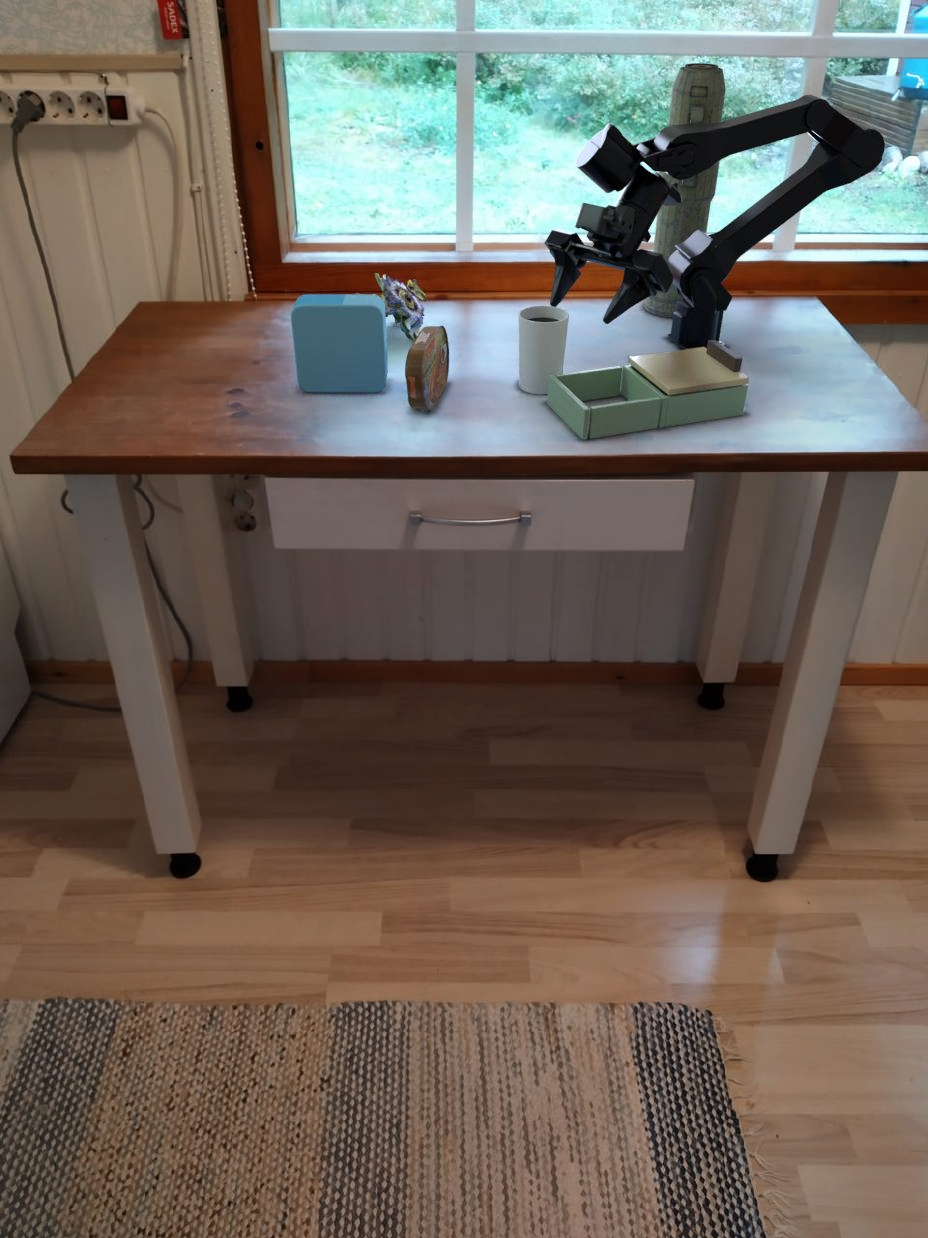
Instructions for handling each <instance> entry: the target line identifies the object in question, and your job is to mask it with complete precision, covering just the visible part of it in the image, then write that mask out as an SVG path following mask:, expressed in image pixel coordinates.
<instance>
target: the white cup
mask: <svg viewBox="0 0 928 1238" xmlns="http://www.w3.org/2000/svg"><path fill="white" fill-rule="evenodd" d="M517 316H518V379H519V380H518V385H519V389H520V390H522V391H524V392H525V393H528V394H532V395H548V379H549V375H554V376H555V377H556V375H557V374H564V364H565V355H566V354H565V353H566V346H567V337H568V328H569V327H568V326H569V320H570V319H569V318H570V314H569V312H568V311H567V310H565V309H563V308H561V307H557V306H556V307H553V306H551V305H533V306H528V307H525V308H522V309H521V310H519V312H518V315H517Z"/></svg>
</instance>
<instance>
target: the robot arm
mask: <svg viewBox="0 0 928 1238" xmlns="http://www.w3.org/2000/svg"><path fill="white" fill-rule="evenodd" d="M803 134H808V135H809V136H810V137H811V138H812V139H813V140H814V141H816V142H817V144H815V147H813V150H812V152H811V153H810V155H809V156H808V158H807V160H806V162H805V163H804V164H803V165H802V166H801V167H800V168H798V170H796V171H794V172H793V173H792V174H791V175H790V176H788V177H786V179H784V180H783V181H782V182H780V183H779V184H778V185H776V187H774V188H773V189H771V190H770V191H769V192H768V193H766V194H765V195H763V196H762V197H761V198H760V199H758V200H757V201H756V202H755V203H754V204H752V205H751V206H750V207H749V208H747V209H746V210H745V211H743V212H742V213H741V214H740V215H738V216H737V217H735V218H734V219H733V220H732V221H730V222H729V223H727V224H726V225H725V226H724V227H723V228H722V229H720V230H718V231H716V232H714V233H710V234H707V233H706V234H705V233H704V232H703V231H701V230H700V229H698V230H697V231H695V232H694V233H693V234H692V235H691V236H690V237H689V238H688V239H687V240H686V241H684V242H683V243H681V244H678V245H676V246H675V248H676V249H678V250H676V251H675V252H674V253H673V254H672V255H671V256H670V258H669V259H668V263H667V262H666V260H665V258H664V256H663V255H662V254H660V253H656V252H653V250H648V249H644V248H640V246H641V245H642V243H649V242H650V240H651V238H652V235H651V233H650V231H649V230H650V228H651V226H652V225H653V223H654V221H655V219H657V214H658V212H659V210H660V209H661V207H662V205H664V206H669V205H674V204H678V203H681V201H682V198H681V194H680V192H679V189H678V183H672V184H670V183H669V182H667V181H666V180H665V179H664V178H663V177H662V176H661V175H660V174H659V172H666V173H667V174H669V175H670V176H672V177H673V178H675V179H678V180H685V179H689V178H691V177H693V176H695V175H697V174H700V173H702V172H704V171H706V170H708V169H710V168H711V167H713V166H714V165H715V164H716V163H718V162H719V161H720V162H721V160H723V159H725V158H727V157H729V156H732V155H735V154H738V153H742V152H745V151H749V150H752V149H753V150H754V149H756V148H759V147H763V146H767V145H769V144H772V143H773V144H774V143H776V142H780V141H783V140H787V139H789V138H793V137H796V136H800V135H803ZM885 143H886V142H885V138H884V136H883V135H882V134H881V132H880V131H878V130H877V129H875V128H872V127H870V126H867V125H864V124H862V123H859V122H857V121H853V120H851V119H850V118H848V117H846V116H845V115H844V114H842V113H841V112H840V111H838V110H837V109H836V108H835V107H833V106H832V105H831V104H830V103H829V101H828V100H826V99H825V98H824V99H823V98H821V97H819V96H816V95H814V94H805V95H802V96H800V97H799V98H798V99H794V100H791V101H787V102H784V103H780V104H778V105H777V104H776V105H774V106H770V107H767V108H763V109H760V110H756V111H754V112H753V111H752V112H749V113H747V114H744V115H740V116H737V117H733V118H730V119H726V120H723V121H721V122H719V123H691V124H681V125H672V126H669V125H667V126H665V127H664V128H662V129H661V130H660V131H658V133H657V135H656V137H652V138H649V139H646V140H643V141H640V142H637V143H634V144H633V143H632V142H630V141H629V140H628V139H627V138H626V137H625V136H624V135H623V134H622V132H621V130H620V129H619V128H618V127H617V126H616V125H614V124H613V123H612V122H608V123H607V124H606V125H605V127H604V128H602V129H601V130H600V131H598V132H596V133H595V134H594V135H593V136H592V137H591V138H590V139H587V140H586V142H585V143H584V144H583V146H582V147H581V149H580V151H579V153H578V155H577V157H576V159H575V167H576V168H577V169H578V170H579V171H581V172H582V174H584V175H585V176H586V177H587V178H589V179H590V180H591V181H592V183H594V184H595V185H597V186H598V187H599V188H600V189H601V190H602V191H603V192H605V194H610V193H612V192H616V193H619V192H621V193H620V195H619V197H618V199H617V200H616V202H615V204H614V205H609V204H608V205H607V206H601V205H598V204H592V203H587V202H582V203H581V206H580V208H579V209H580V210H579V212H578V215H577V218H576V221H575V225H574V227H575V228H576V229H581V230H583V231H586V232H587V234H586V238H587V239H588V241H590V242H592V245H591V246H590V245H588V244H587V245H586V244H585V243H584V242H583V240H582V239H581V237H580V236H579V235H578V233H577V232H576V231H571V230H567V229H563V228H560V227H557V228H553V229H551V230H550V232H549V233H548V235H547V237H546V239H545V241H544V242H543V244H544V245H545V246H546V248H547V249H548V250H549V254H550V255H551V257H553V259H554V264H555V265H554V267H555V268H554V275H553V276H554V277H553V283H552V288H551V293H550V294H551V295H550V301H549V306H553V307H557V306H559V304H560V303H561V302H562V301H563V300H564V298H565V297H566V295H567V294H568V293H569V291H570V290H571V289H572V287H573V286H574V284H575V283H576V282H577V280H579V278H580V277H581V276H582V272H581V271H580V269H582V268H584V267H585V266H586V264H587V262H590V263H593V264H596V265H597V264H598V265H600V266H604V267H609V268H612V269H616V270H620V271H622V272H623V277H622V280H621V281H622V282H621V283H620V286H619V287H618V289H617V290H616V293H615V294H614V296H613V298H612V300H611V301H610V304H609V305H608V307H607V309H606V310H605V313H604V316H603V318H602V321H603V323H604V324H605V325H609V324H610V323H611V322H613V321H615V320H616V319H617V318H619V317H620V316H621V315H622V314H624V313H625V312H627V311H628V310H630V309H632V308H633V307H634V306H637V305H638V304H639V303H641V302H643V301H645V300H646V298H648V297H649V296H653V297H655V296H656V295H657V292H660V293H664V294H665V293H667V292H668V290H669V288H670V286H671V284H672V283H673V284H674V285H675V286H676V290H677V293H678V294H679V295H681V296H682V297H683V299H682V300H679V301H677V308H676V312H674V313H673V317H672V321H671V329H670V333H668V334H667V336H666V337H667V338H666V339H668V340H669V341H671V342H672V343H673V344H675V345H676V346H678V347H679V348H681V350H685V349H692V348H700V347H705V348H706V349H707V344H708V340H716V341H717V342H719V343H720V344H722V345H723V346H725V342H724V341H722V340H721V332H722V324H723V318H724V313H725V312H726V311H727V310H728V308H729V305H730V304H731V302H732V300H733V295H732V294H731V293H730V292H729V291H728V290H727V288H726V287H725V286H724V285H723V284H722V283H723V282H724V281H725V280H726V279H727V278H728V276H729V275H730V274H731V271H732V270H733V268H734V267H735V264H736V263H737V261H738V260H739V259H740V258H741V257H742V256H743V255H745V254H746V253H747V252H749V251H750V250H751V249H752V248H753V247H755V246H756V245H757V244H759V243H760V242H761V241H763V240H764V239H766V238H767V237H768V236H769V235H771V234H772V233H773V232H774V231H776V230H777V229H778V228H780V227H782V225H784V224H785V223H786V222H788V221H789V220H790V219H792V218H793V217H795V216H796V215H797V214H798V213H799V212H800V211H802V210H803V209H804V208H806V207H807V206H808V205H810V204H811V203H813V202H814V201H815V200H817V199H818V198H819V197H820V196H822V195H823V194H824V193H826V192H828V191H831V190H834V189H838V188H840V187H843V186H846V185H849V184H853V182H856V181H857V180H859V179H861V178H863V177H864V176H866V175H868V174H870V173H871V172H873V171H875V170H876V168H877V167H878V166H879V165H880V164H881V163H882V161H883V156H884V153H885V150H886V149H885V148H886V144H885ZM641 163H642V164H641ZM643 164H644V165H645V166H646V167H647V168H649V169H650V170H651V171H652V172H651V171H650V170H649V169H647V168H646V167H644V166H643ZM724 311H725V312H724ZM725 347H726V346H725Z"/></svg>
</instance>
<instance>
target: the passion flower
mask: <svg viewBox="0 0 928 1238" xmlns="http://www.w3.org/2000/svg"><path fill="white" fill-rule="evenodd" d="M373 275H374V278H375V281H376V282H377V284H378V286H379V288H380V289H381V292H382V294H381V295H380V296H379V297H380V298H381V299H382V300H383V302H384V304H385V314H386V318H388V317H389V316H393V319H394V323H395V325H398V324H399V329H400V331H401V332H402V333H404V335H405V337H406V339H408V340H410V341H412V342H414V341H415V339H416V338H417V336H418V335H419V333H420V331H421V330H420V328H421V327H422V325H424V317H425V314H424V312H425V307H424V305H423V304H422V303H420V301H422V302H427V301H428V300H427V298H426V293H424V291H423V290H421V288H420V287H419V284H418V282H417V280H416V279H412V280H411V279H409V280H407V282H406V285H405V284H404V282H399V281H400V280H399V278H396V279H393V278H391V277H390V276H387V274H386V273H385V274H383V275H382V277H380V274H379V273H377V272H374V274H373ZM354 295H362V294H361V293H360V292H355V293H354ZM371 295H377V296H378V294H377V293H372V294H371Z"/></svg>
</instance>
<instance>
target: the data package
mask: <svg viewBox="0 0 928 1238" xmlns="http://www.w3.org/2000/svg"><path fill="white" fill-rule="evenodd" d="M292 307H293V308H292V310H291V312H290V323H291V332H292V333H291V334H292V343H293V353H294V361H295V362H294V363H295V371H296V380H297V385H298V386H299V387H300V389H301V390H302V391H303V392H304V391H305V392H306V393H379V392H381V391H383V389H384V388H385V387H386V385H387V380H388V374H389V359H388V339H387V338H388V337H387V317H386V314H385V304H384V302H383V300H382V299H381V298H380V296H379V295H378V294H377V295H372V294H361V295H355V294H323V293H322V294H317V293H316V294H309V293H307V294H302V295H300V296H298V298H296V300H295V303H294V305H293V306H292Z"/></svg>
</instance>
